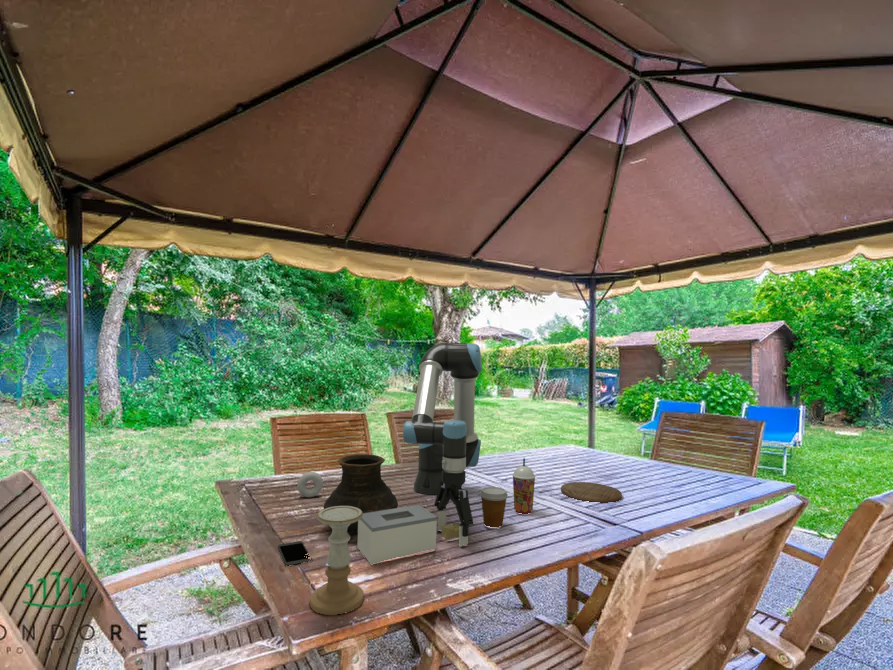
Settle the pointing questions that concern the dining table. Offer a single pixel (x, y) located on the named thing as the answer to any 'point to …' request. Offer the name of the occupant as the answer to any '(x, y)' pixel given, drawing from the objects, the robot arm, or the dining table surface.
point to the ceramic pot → (362, 486)
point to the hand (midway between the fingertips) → (452, 538)
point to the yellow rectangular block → (450, 531)
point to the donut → (304, 479)
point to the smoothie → (523, 489)
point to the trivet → (591, 492)
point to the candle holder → (338, 565)
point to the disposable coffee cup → (493, 505)
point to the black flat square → (293, 553)
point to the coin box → (396, 533)
